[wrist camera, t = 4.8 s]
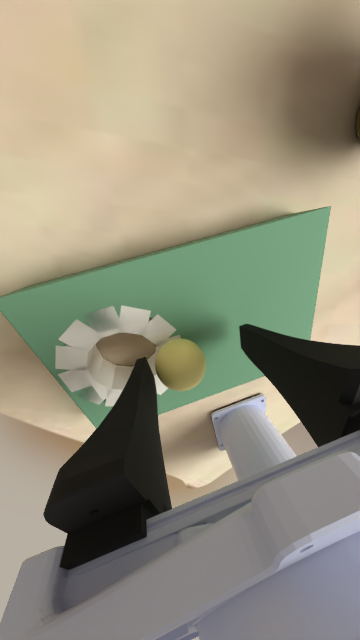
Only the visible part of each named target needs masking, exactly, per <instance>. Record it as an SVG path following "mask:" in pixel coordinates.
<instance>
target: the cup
mask: <svg viewBox="0 0 360 640" xmlns="http://www.w3.org/2000/svg"><path fill="white" fill-rule="evenodd" d="M356 130H357V135H358V137H359V139H360V109H359V112H358V116H357V122H356Z"/></svg>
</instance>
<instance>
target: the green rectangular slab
mask: <svg viewBox="0 0 360 640" xmlns="http://www.w3.org/2000/svg"><path fill="white" fill-rule="evenodd" d="M330 209H331V206H329V207H324V208H319V209H314V210H309V211H304V212H299V213H294V214H290V215H287V216H283V217H279V218H276V219H272V220H268V221H265V222H261V223H257V224H254V225H250V226H247V227H243V228H239V229H236V230H232V231H228V232H225V233H221V234H218V235H214V236H210V237H207V238H203V239H199V240H196V241H192V242H188V243H185V244H181V245H178V246H174V247H170V248H167V249H163V250H159V251H156V252H152V253H148V254H145V255H141V256H138V257H134V258H130V259H127V260H123V261H119V262H116V263H112V264H108V265H105V266H101V267H98V268H94V269H90V270H87V271H83V272H79V273H76V274H72V275H68V276H65V277H61V278H58V279H54V280H50V281H47V282H43V283H39V284H36V285H32V286H29V287H25V288H22V289H20V290H17V291H14V292H12V293H9V294H6V295H4V296H1V297H0V311H1V312H2V314H3V315H4V316H5V317H6V319H7V320H8V321H9V322H10V323H11V325H12V326H13V327H14V328H15V330H16V331H17V332H18V333H19V334H20V336H21V337H22V338H23V339H24V341H25V342H26V343H27V344H28V345H29V347H30V348H31V349H32V350H33V352H34V353H35V354H36V355H37V356H38V358H39V359H40V360H41V361H42V363H43V364H44V365H45V366H46V368H47V369H48V370H49V371H50V372H51V374H52V375H53V376H54V377H55V379H56V380H57V381H58V382H59V383H60V385H61V386H62V387H63V388H64V390H65V391H66V392H67V393H68V394H69V396H70V397H71V398H72V399H73V401H74V402H75V403H76V404H77V405H78V407H79V408H80V409H81V410H82V412H83V413H84V414H85V415H86V416H87V418H88V419H89V420H90V421H91V423H92V424H93V425H94V426H95V427H96V429H97V428H98V426H99V425H100V424H101V422H102V421H103V420H104V418H105V417H106V416H107V414H108V413H109V412H110V410H111V409H112V407H113V406H114V404H115V403H116V401H117V399H118V398H119V396H120V394H121V392H122V391H123V389H124V387H125V385H126V383H127V381H128V379H129V377H130V375H131V372H132V370H133V368H134V366H135V365H134V366H131V367H130V366H118V365H115V364H113V363H111V362H109V361H107V360H106V359H104V358H103V357H102V355H101V353H100V352H99V350H98V348H97V347H96V343H97V342H98V341H99V340H100V339H101V338H104V337H107V336H110V335H113V334H117V333H120V332H124V333H131V334H138V335H142V336H144V337H145V338H147V339H148V340H149V341H151V342H152V343H154V344H155V345H156V349H155V353H154V354H153V355H152V356H151V357H150V358H148V359H147V361H148V364H149V366H150V368H151V371H152V373H153V375H154V378H155V384H156V390H157V407H158V415H159V414H162V413H165V412H168V411H170V410H173V409H176V408H179V407H181V406H184V405H187V404H189V403H192V402H195V401H198V400H200V399H203V398H206V397H209V396H211V395H214V394H217V393H219V392H222V391H225V390H228V389H230V388H233V387H236V386H239V385H241V384H244V383H247V382H249V381H252V380H255V379H258V378H260V377H263V376H265V375H264V374H263V373H262V372H261V371H260V370H259V369H258V368H257V367H256V366H255V365H254V364H253V363H252V362H251V360H250V359H249V358H248V357H247V356H246V354H245V353H244V351H243V350H242V349H241V343H240V330H239V326H241V325H244V324H250V325H254V326H257V327H260V328H263V329H266V330H270V331H273V332H276V333H280V334H283V335H287V336H291V337H295V338H300V339H305V340H310V338H311V331H312V325H313V318H314V312H315V305H316V299H317V293H318V286H319V280H320V273H321V267H322V261H323V254H324V248H325V241H326V235H327V228H328V222H329V216H330ZM180 338H182V339H188V340H190V341H192V342H194V343H196V344H197V345H198V346H199V347H200V348H201V350H202V351H203V353H204V356H205V359H206V370H205V374H204V376H203V378H202V380H201V381H200V382H199V384H198V385H196V386H195V387H194V388H192V389H190V390H187V391H175V390H171V389H169V388H167V387H166V386H165V385H164V384H163V383H162V382H161V381H160V380H159V378H158V376H157V374H156V370H155V360H156V356H157V354H158V352H159V350H160V349H161V347H162V346H163V345H164V344H166V343H167V342H169V341H171V340H174V339H180Z"/></svg>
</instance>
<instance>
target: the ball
mask: <svg viewBox="0 0 360 640" xmlns="http://www.w3.org/2000/svg"><path fill="white" fill-rule="evenodd" d="M155 370H156V374H157V376H158V378H159V380H160V381H161V382H162V383H163V384H164V385H165V386H166V387H167V388H169V389H171V390H175V391H187V390H190V389H192V388H194V387H195V386H196V385H198V384H199V382H200V381H201V380H202V378H203V376H204V374H205V370H206V359H205V356H204V353H203V351H202V350H201V348H200V347H199V346H198V345H197V344H196V343H194V342H192V341H190V340H188V339H182V338H180V339H174V340H171V341H169V342H167V343H166V344H164V345H163V346H162V347H161V349H160V350H159V352H158V354H157V356H156V360H155Z"/></svg>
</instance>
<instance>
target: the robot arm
mask: <svg viewBox="0 0 360 640" xmlns="http://www.w3.org/2000/svg"><path fill="white" fill-rule="evenodd" d="M239 330H240V343H241V349H242V350H243V351H244V353H245V354H246V356H247V357H248V358H249V359H250V360H251V362H252V363H253V364H254V365H255V366H256V367H257V368H258V369H259V370H260V371H261V372H262V373H263V374H264V375H265V376H266V377H267V378H268V379H269V380H270V381H271V383H272V384H273V385H274V386H275V387H276V389H277V390H278V391H279V392H280V394H281V395H282V396H283V397H284V399H285V400H286V401H287V403H288V404H289V405H290V407H291V408H292V409H293V411H294V412H295V414H296V415H297V416H298V418H299V419H300V421H301V422H302V423H303V425H304V426H305V428H306V429H307V431H308V432H309V434H310V435H311V437H312V438H313V440H314V441H315V443H316V444H317V446H318V448H316V449H313V450H311V451H309V452H306V453H304V454H301V455H299V456H296V455H295V454H294V452H293V450H292V449H291V448H290V446H289V445H288V444H287V442H286V441H285V440H284V438H283V437H282V435H281V434H280V433H279V431H278V430H277V429H276V427H275V426H274V425H273V423H272V422H271V421H270V419H269V418H268V416H267V415H266V396H265V395H264V394H259V395H257V396H254V397H252V398H249V399H246V400H244V401H241V402H238V403H236V404H233V405H230V406H228V407H225V408H222V409H220V410H217V411H214V412H212V414H211V417H212V421H213V426H214V430H215V434H216V438H217V442H218V446H219V449H220V450H224V449H226V452H227V454H228V456H229V459H230V461H231V464H232V466H233V468H234V471H235V473H236V476H237V478H238V481H237V482H235V483H232V484H230V485H228V486H225V487H223V488H221V489H218V490H216V491H213V492H211V493H209V494H206V495H204V496H201V497H199V498H197V499H194V500H192V501H190V502H187V503H185V504H182V505H180V506H178V507H175V508H173V509H172V507H171V501H170V496H169V490H168V484H167V479H166V472H165V466H164V460H163V454H162V447H161V441H160V434H159V425H158V407H157V390H156V384H155V378H154V375H153V373H152V371H151V368H150V366H149V364H148V361H147V359H146V357H144V358H141V359H137V361H136V363H135V366H134V368H133V370H132V372H131V375H130V377H129V379H128V381H127V383H126V385H125V387H124V389H123V391H122V392H121V394H120V396H119V398H118V399H117V401H116V403H115V404H114V406H113V407H112V409H111V410H110V412H109V413H108V414H107V416H106V417H105V418H104V420H103V421H102V422H101V424H100V425H99V426H98V428H97V429H96V430H95V431H94V432H93V434H92V435H91V436H90V437H89V438H88V439H87V441H86V442H85V443H84V444H83V445H82V446H81V447H80V448H79V450H78V451H77V452H76V453H75V454H74V455H73V456H72V457H71V458H70V459H69V460H68V461H67V462H66V463H65V464H64V465H63V466H62V467H61V468H60V470H59V472H58V474H57V477H56V480H55V482H54V485H53V488H52V491H51V494H50V496H49V499H48V502H47V505H46V508H45V511H44V517H45V520H46V521H47V522H48V523H49V524H50V525H52V526H54V527H56V528H58V529H60V530H62V531H64V532H66V533H68V535H67V539H66V543H65V546H60V547H55V548H52V549H49V550H47V551H45V552H42V553H40V554H37V555H35V556H33V557H30V558H28V559H26V560H25V561H24V562H23V563H22V566H21V568H20V571H19V574H18V577H17V579H16V582H15V585H14V587H13V590H12V593H11V595H10V598H9V601H8V604H7V606H6V609H5V612H4V615H3V617H2V620H1V623H0V640H192V639H194V638H196V637H198V636H199V639H200V640H360V346H355V345H341V344H331V343H324V342H317V341H310V340H305V339H300V338H295V337H291V336H287V335H283V334H280V333H276V332H273V331H270V330H266V329H263V328H260V327H257V326H254V325H250V324H244V325H241V326H239Z"/></svg>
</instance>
